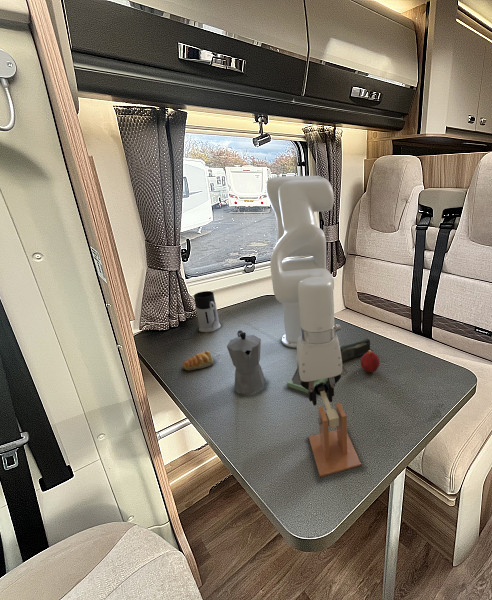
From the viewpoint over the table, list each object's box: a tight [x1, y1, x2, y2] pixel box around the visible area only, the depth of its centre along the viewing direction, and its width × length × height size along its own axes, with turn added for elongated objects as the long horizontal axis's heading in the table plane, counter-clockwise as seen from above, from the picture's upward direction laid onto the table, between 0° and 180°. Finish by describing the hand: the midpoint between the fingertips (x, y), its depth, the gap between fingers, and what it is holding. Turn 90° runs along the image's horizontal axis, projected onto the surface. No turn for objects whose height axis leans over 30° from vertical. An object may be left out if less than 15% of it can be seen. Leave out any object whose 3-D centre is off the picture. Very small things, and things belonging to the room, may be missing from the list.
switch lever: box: [314, 382, 339, 429], centre depth 72 cm, size 13×3×3 cm, turn 17°
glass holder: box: [193, 290, 222, 333], centre depth 129 cm, size 9×14×15 cm, turn 43°
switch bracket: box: [308, 402, 362, 478], centre depth 69 cm, size 11×9×12 cm
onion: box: [360, 349, 380, 373], centre depth 99 cm, size 6×6×8 cm
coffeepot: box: [226, 329, 267, 395], centre depth 92 cm, size 15×9×18 cm, turn 25°
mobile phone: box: [340, 338, 371, 363], centre depth 108 cm, size 5×3×15 cm
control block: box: [286, 378, 328, 394], centre depth 95 cm, size 11×9×4 cm
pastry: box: [182, 350, 215, 371], centre depth 106 cm, size 9×7×4 cm
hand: (321, 399), depth 77 cm, fingers closed on switch lever, 3 cm apart
